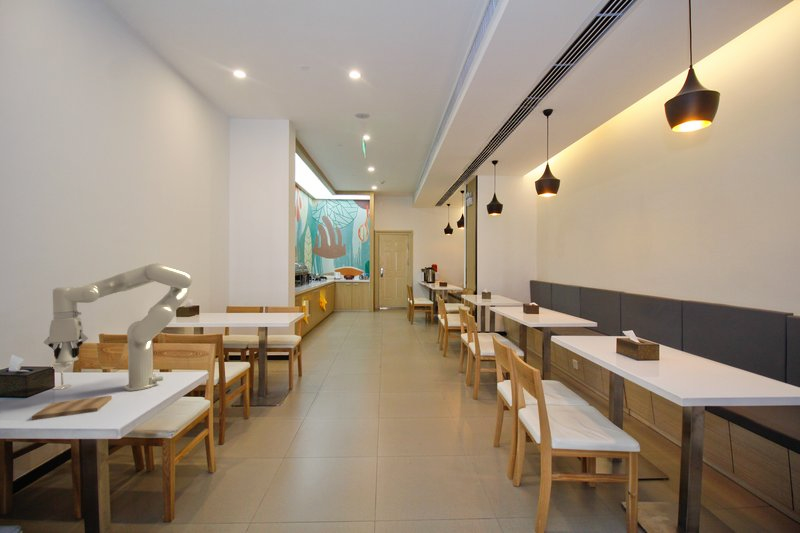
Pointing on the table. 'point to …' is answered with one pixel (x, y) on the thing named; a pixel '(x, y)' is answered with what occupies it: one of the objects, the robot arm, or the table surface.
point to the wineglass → (60, 370)
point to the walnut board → (72, 407)
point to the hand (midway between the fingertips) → (66, 357)
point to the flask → (66, 353)
